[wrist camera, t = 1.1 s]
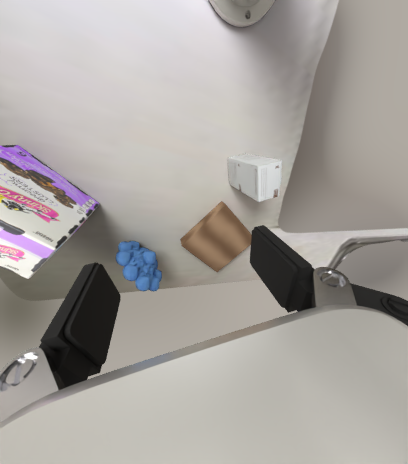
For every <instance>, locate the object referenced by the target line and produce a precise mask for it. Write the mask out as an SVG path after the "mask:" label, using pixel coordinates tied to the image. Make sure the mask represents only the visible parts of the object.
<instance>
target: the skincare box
mask: <svg viewBox="0 0 408 464" xmlns="http://www.w3.org/2000/svg"><path fill="white" fill-rule="evenodd" d="M281 169H282V160H279V159H273V158H268V157H262V156H257V155H251V154H246V153H245V154H240V155H236V156H232V157H228V175H229V183H230V185H231V186H233V187H234V188H236V189H238V190H239V191H241V192H243V193H244V194H246V195H247V196H249V197H251V198H252V199H254V200H256V201H257V202H261V201H264V200H268V199H271V198H275V197H278V196H279V192H280V184H281V179H282V175H281Z"/></svg>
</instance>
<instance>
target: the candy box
mask: <svg viewBox="0 0 408 464" xmlns="http://www.w3.org/2000/svg"><path fill="white" fill-rule="evenodd" d="M98 206H99V203H98V202H97V201H95V200H94V199H93V198H91V197H90V196H88V195H87V194H85V193H84V192H83V191H81V190H80V189H79V188H77V187H76V186H74V185H73V184H71V183H70V182H69V181H67V180H66V179H65V178H63V177H62V176H60V175H59V174H58V173H56V172H55V171H53V170H52V169H51V168H49V167H48V166H46V165H45V164H43V163H42V162H41V161H39V160H38V159H37V158H35V157H34V156H32V155H31V154H30V153H28V152H27V151H25V150H24V149H23V148H21V147H20V146H18V145H5V146H0V267H1V268H4V269H6V270H9V271H12V272H14V273H17V274H19V275H21V276H23V277H25V278H28V279H29V278H30V277H31V276H32V275H33V274H34V273H35V272H36V271H37V270H38V269H39V268H40V267H41V266H42V265H43V264H44V263H45V262H46V261H47V260H48V259H49V258H50V257H51V256H52V255H53V254H54V253H55V252H56V251H57V250H58V249H59V248H60V247H61V246H62V245H63V244H64V243H65V242H66V241H67V240H68V239H69V238H70V237H71V236H72V235H73V234H74V233H75V232H76V231H77V230H78V228H79V227H80V226H81V225H82V224H83V223H84V222H85V221H86V220H87V218H88V217H89V216H90V215H91V214H92V213H93V212H94V210H95V209H96V208H97V207H98Z"/></svg>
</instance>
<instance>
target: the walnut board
mask: <svg viewBox="0 0 408 464" xmlns="http://www.w3.org/2000/svg"><path fill="white" fill-rule="evenodd" d="M251 236H252V235H251V234H250V232H249V231H248V230H247V229H246V228H245V227H244V225H243V224H242V223H241V222H240V221H239V220H238V218H237V217H236V216H235V215H234V214H233V213H232V211H231V210H230V209H229V208H228V207H227V206H226V205H225V204H224V203H223V202H222V201H221V202H220V203H219V204H218V205H217V206H216V207H215V208H214V209H213V210H212V211H211V212H210V213H209V214H207V215H206V216H205V217H204V218H203V219H202V220H201V221H200V222H199V223H198V224H197V225H196V226H194V227H193V228H192V229H191V230H190V231H189V232H188V233H187V234H186V235H185V236H184V237H183V238H181V239H180V240H181V244H182V246H183V247H184V248H185V249H187V250H188V251H189V252H191V253H192V254H193V255H195V256H196V257H197V258H199V259H200V260H201V261H203V262H204V263H205V264H207V265H208V266H209V267H211V268H212V269H213V270H215V271H216V272H218V271H219V270H220V269H222V268H223V267H224V266H225V265H226V264H228V263H229V262H230V261H231V260H232V259H234V258H235V257H236V256H237V255H239V254H240V253H241V252H242V251H243V250H245V249H246V248H247V247H248V246H249V245H251Z"/></svg>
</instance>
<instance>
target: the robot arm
mask: <svg viewBox="0 0 408 464" xmlns="http://www.w3.org/2000/svg"><path fill="white" fill-rule="evenodd" d="M209 1H210V3H211V4H212V6H213V8H214V9H215V11H216V12H217V13H218V14H219V15H220V17H221V18H222V19H224V20H225V21H226V22H228V23H229V24H231V25H234V26H236V27H246V26H250V25H252V24H254V23H256V22H258V21H259V20H260V19H261V18H262V17H263V16H264V15H265V14H266V13H267V11H268V10H269V9H270V8H271V6H272V5H273V3H274V2H275V0H209ZM250 263H251V265H252V267H253V268H254V270H255V271H256V272H257V274H258V275H259V277H260V278H261V279H262V281H263V282H264V283H265V285H266V286H267V288H268V289H269V290H270V292H271V293H272V294H273V296H274V297H275V299H276V300H277V301H278V303H279V304H280V306H281V307H283V308H285V309H286V310H287V312H291V311H295V310H297V311H298V312H296V313H293V314H290V315H286V316H283V317H279V318H276V319H273V320H270V321H267V322H264V323H261V324H257V325H254V326H251V327H248V328H245V329H241V330H238V331H235V332H232V333H229V334H226V335H223V336H219V337H216V338H213V339H210V340H207V341H204V342H200V343H197V344H194V345H191V346H188V347H185V348H182V349H179V350H176V351H173V352H170V353H166V354H163V355H160V356H157V357H154V358H151V359H148V360H145V361H142V362H139V363H136V364H133V365H130V366H127V367H124V368H121V369H117V370H114V371H111V372H109V373H106V374H103V375H100V376H97V377H94V378H91V379H88V380H87V378H88V376H91V375H94V374H97V373H100V370H101V366H102V364H104V363H105V361H106V357H107V353H108V349H109V345H110V340H111V337H112V332H113V328H114V324H115V320H116V316H117V312H118V307H119V303H120V294H119V292H118V290H117V289H116V287H115V285H114V284H113V282H112V280H111V278H110V277H109V275H108V273H107V272H106V270H105V268H104V267H103V265H102V264H98V263H92V264H88V265H85V266H84V267H83V269H82V270H81V272H80V274H79V276H78V277H77V279H76V281H75V282H74V284H73V286H72V288H71V289H70V291H69V293H68V294H67V296H66V298H65V300H64V301H63V303H62V305H61V307H60V308H59V310H58V312H57V313H56V315H55V317H54V318H53V320H52V322H51V324H50V325H49V327H48V329H47V330H46V332H45V334H44V336H43V337H42V339H41V342H42V343H41V345H40V346H39V348H37V347H36V348H31V349H28V350H26V351H24V352H22V353H21V354H19V355H17V356H16V357H15V358H13V359H12V360H11V361H10V362H9V363H7V364H6V365H5V367H3V369H2V370H1V371H0V464H408V301H406V300H404V299H402V298H400V297H397V296H394V295H390V294H387V293H383V292H380V291H376V290H373V289H369V288H365V287H362V286H358V285H354V284H351V283H350V281H349V280H348V278H347V277H346V276H345V275H344V274H342V273H341V272H339V271H337V270H335V269H332V268H328V267H319V268H316V269H314V268H312V265H311V264H310V263H308V262H307V261H306V260H305V259H304V258H302V257H301V256H300V255H299V254H298V253H296V252H295V251H294V250H293V249H292V248H290V247H289V246H288V245H287V244H286V243H284V242H283V241H282V240H281V239H280V238H278V237H277V236H276V235H275V234H274V233H273V232H271V231H270V230H269V229H268V228H267V227H265V226H264V225H262V226H258V227H255V228H254V230H252V236H251V252H250Z"/></svg>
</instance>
